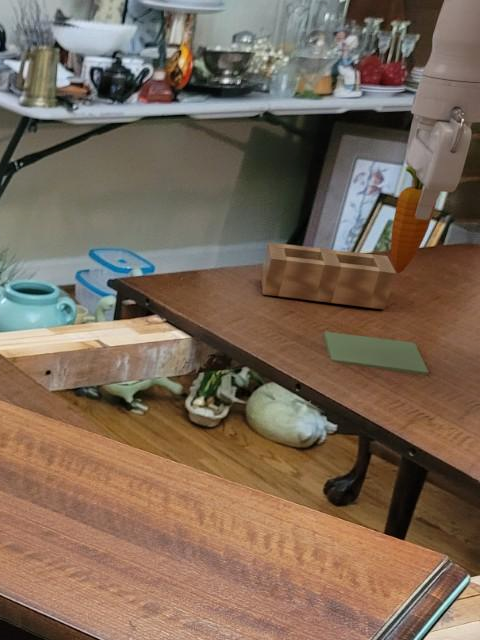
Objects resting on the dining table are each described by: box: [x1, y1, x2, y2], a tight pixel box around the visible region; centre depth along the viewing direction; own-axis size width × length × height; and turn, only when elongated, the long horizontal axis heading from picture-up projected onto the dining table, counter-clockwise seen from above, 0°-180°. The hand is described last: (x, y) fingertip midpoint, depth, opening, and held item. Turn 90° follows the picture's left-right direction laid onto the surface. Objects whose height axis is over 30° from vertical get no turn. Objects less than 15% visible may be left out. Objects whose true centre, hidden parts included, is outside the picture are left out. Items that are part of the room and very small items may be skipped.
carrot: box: [390, 165, 438, 274], centre depth 149 cm, size 5×5×15 cm
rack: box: [260, 242, 397, 310], centre depth 185 cm, size 20×11×6 cm, turn 75°
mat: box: [322, 330, 430, 376], centre depth 160 cm, size 13×13×1 cm
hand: (417, 213), depth 149 cm, fingers closed on carrot, 5 cm apart
